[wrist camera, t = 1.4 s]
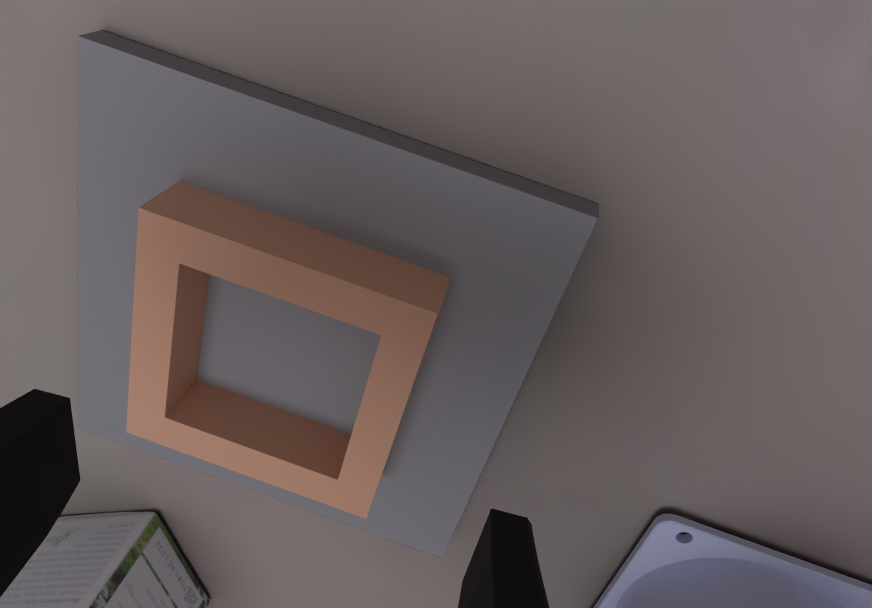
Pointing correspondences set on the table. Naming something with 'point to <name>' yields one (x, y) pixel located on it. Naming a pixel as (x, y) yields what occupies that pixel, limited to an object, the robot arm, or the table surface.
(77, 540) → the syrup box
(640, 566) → the robot arm
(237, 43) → the table surface
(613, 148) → the table surface
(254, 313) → the collar stand
